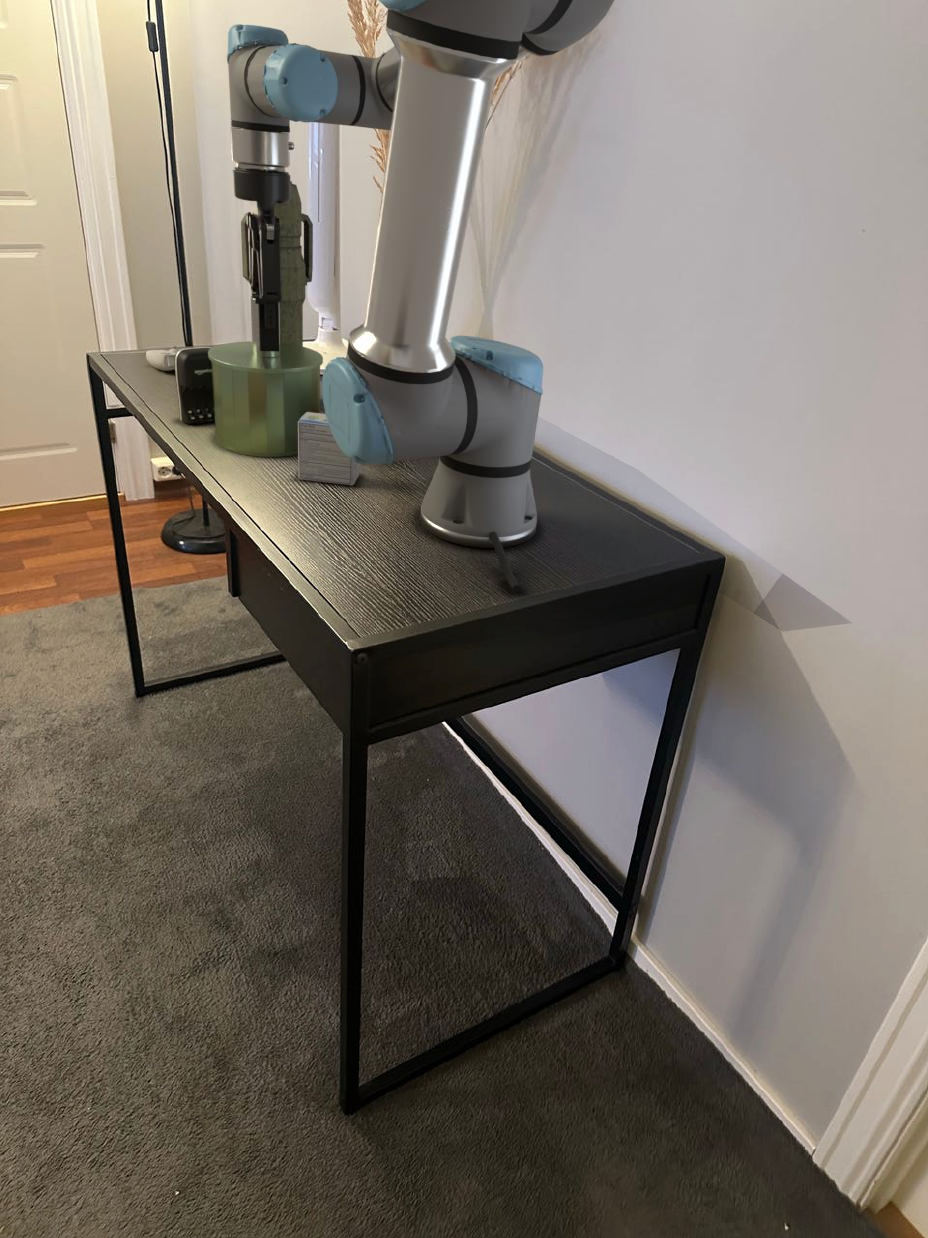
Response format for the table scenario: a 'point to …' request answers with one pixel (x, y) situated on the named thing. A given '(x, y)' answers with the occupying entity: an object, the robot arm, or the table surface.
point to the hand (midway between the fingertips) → (266, 344)
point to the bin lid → (264, 353)
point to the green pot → (262, 409)
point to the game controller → (162, 358)
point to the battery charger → (194, 385)
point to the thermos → (289, 264)
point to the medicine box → (322, 453)
